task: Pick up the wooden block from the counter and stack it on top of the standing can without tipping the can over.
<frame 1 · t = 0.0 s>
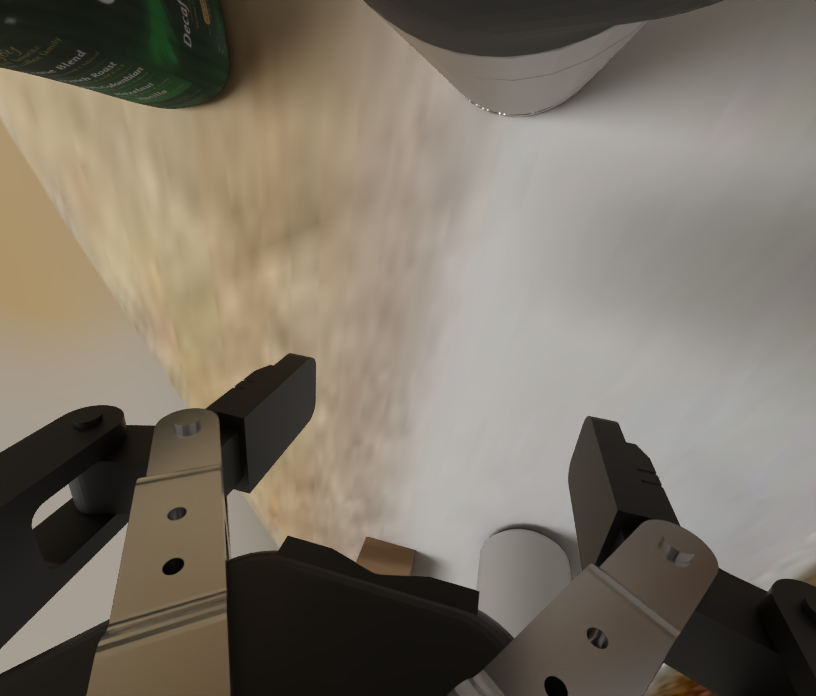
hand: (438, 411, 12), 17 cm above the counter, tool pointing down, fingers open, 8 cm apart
can: (523, 551, 37), on the counter
block: (389, 559, 42), on the counter
coffee jar: (177, 19, 26), on the counter
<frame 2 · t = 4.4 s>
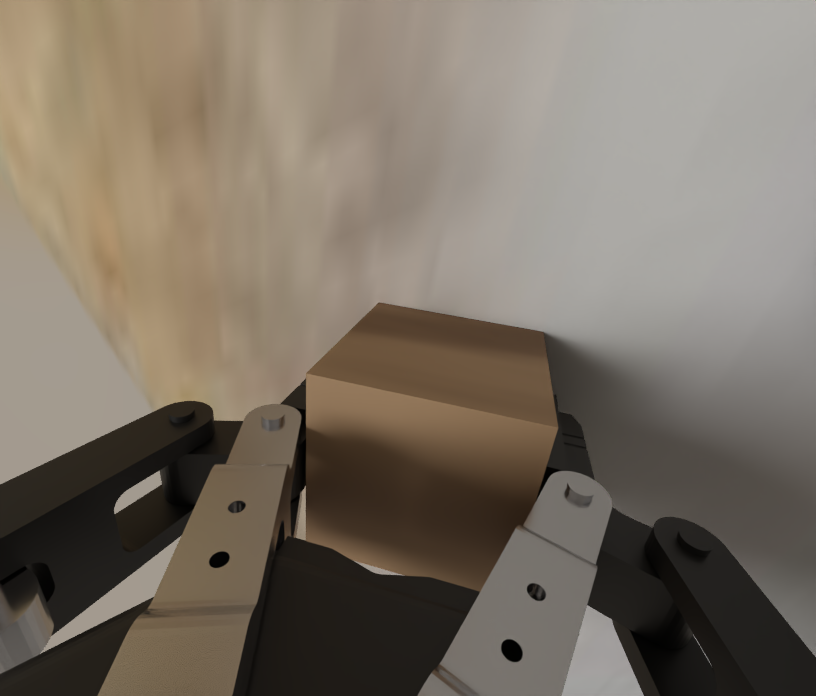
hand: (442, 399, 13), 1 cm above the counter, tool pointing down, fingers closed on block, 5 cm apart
block: (446, 388, 14), on the counter, touching gripper
when the fingers open (14 cm above the counter, at t = 9.0 s): block stays where it is, resting on can.
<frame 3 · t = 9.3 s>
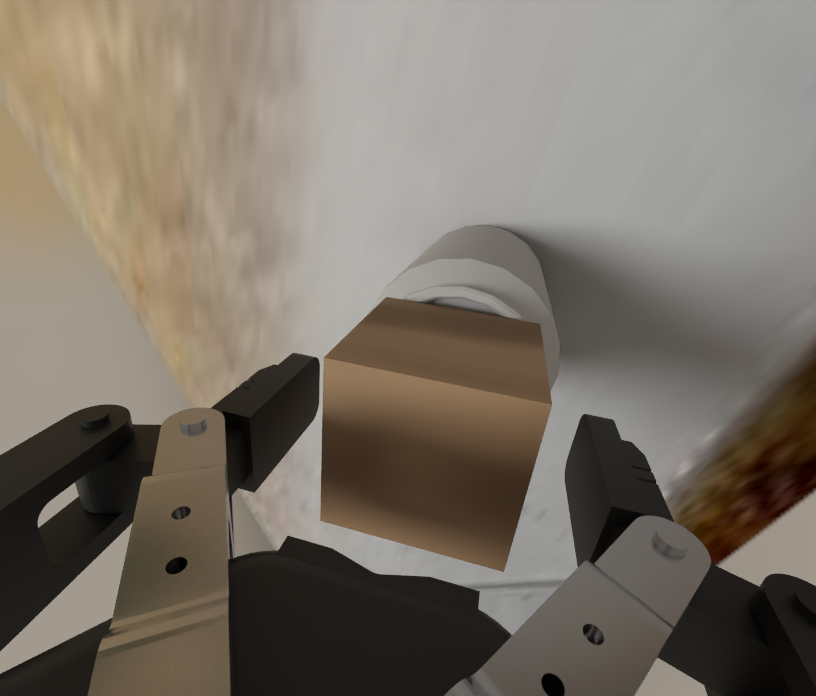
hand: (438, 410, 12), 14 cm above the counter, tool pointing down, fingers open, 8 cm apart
can: (479, 286, 25), on the counter, touching block
block: (449, 377, 14), point 12 cm above the counter, touching can
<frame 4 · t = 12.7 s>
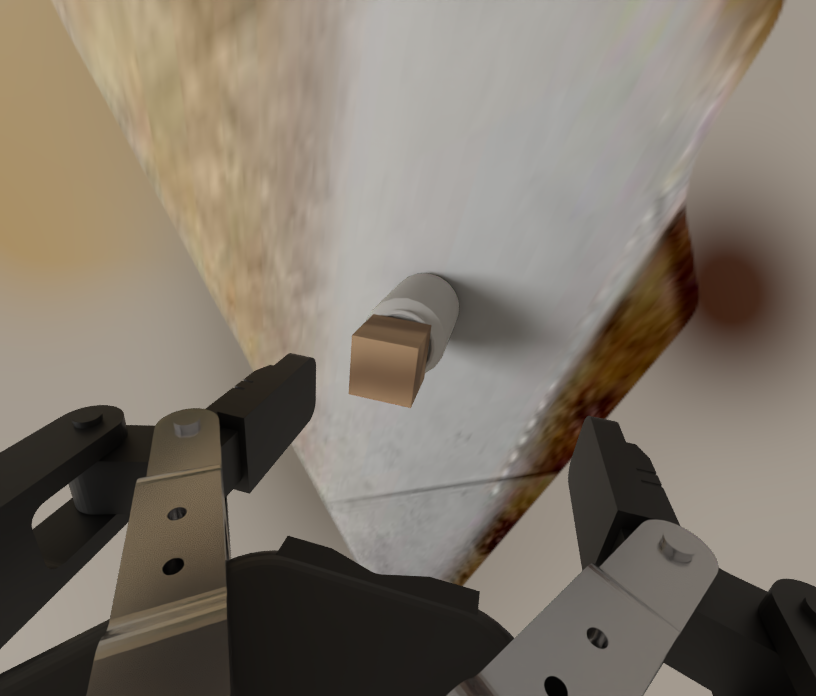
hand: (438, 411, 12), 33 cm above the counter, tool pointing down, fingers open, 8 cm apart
can: (426, 304, 46), on the counter, touching block
block: (399, 346, 36), point 12 cm above the counter, touching can
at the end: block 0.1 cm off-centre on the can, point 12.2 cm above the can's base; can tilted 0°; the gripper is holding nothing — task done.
